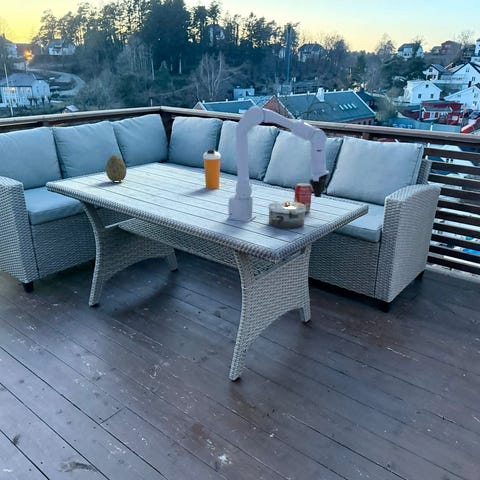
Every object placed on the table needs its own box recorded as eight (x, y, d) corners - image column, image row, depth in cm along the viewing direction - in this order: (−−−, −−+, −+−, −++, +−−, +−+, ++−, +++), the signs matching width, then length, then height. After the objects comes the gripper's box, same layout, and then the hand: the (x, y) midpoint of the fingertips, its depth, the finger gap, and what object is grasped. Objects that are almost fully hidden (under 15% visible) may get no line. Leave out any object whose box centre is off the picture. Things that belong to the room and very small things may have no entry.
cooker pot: (257, 229, 156) (258, 214, 154) (276, 216, 172) (277, 202, 170) (292, 235, 150) (293, 219, 148) (308, 221, 166) (309, 206, 164)
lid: (275, 218, 149) (276, 213, 148) (265, 204, 167) (265, 198, 166) (314, 217, 151) (315, 211, 150) (299, 203, 169) (300, 197, 168)
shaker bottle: (221, 185, 223) (220, 148, 215) (220, 189, 214) (220, 150, 207) (204, 185, 222) (203, 148, 215) (203, 189, 214) (202, 150, 207)
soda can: (299, 207, 184) (300, 181, 179) (313, 210, 180) (314, 183, 175) (290, 211, 178) (292, 184, 174) (304, 214, 174) (306, 186, 170)
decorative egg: (124, 184, 224) (121, 156, 218) (104, 184, 224) (101, 156, 218) (129, 180, 234) (127, 153, 228) (110, 180, 234) (107, 153, 228)
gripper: (325, 164, 152) (327, 199, 157) (331, 156, 165) (332, 189, 170) (307, 164, 155) (308, 199, 160) (313, 157, 168) (314, 189, 172)
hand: (319, 194), depth 165 cm, fingers open, 7 cm apart
